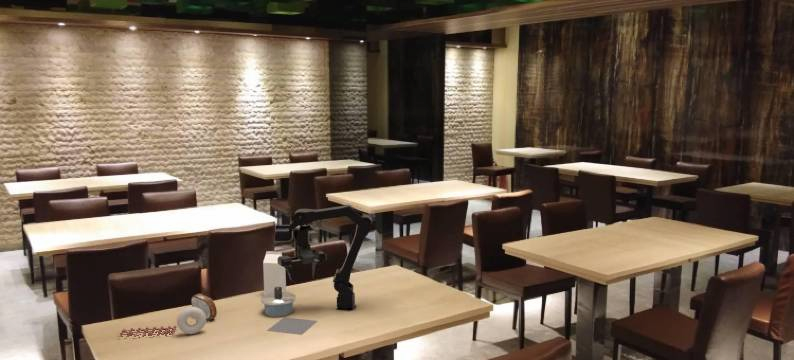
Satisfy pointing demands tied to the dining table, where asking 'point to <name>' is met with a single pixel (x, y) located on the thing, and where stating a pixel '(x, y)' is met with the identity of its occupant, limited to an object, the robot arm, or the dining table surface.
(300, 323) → the mat
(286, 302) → the lid
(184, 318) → the donut
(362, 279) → the dining table surface
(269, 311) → the blue bowl
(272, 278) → the milk carton
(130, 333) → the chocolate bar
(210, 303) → the tin
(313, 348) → the dining table surface
